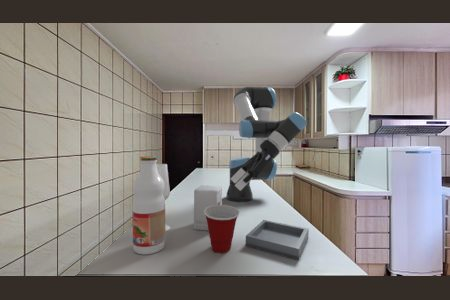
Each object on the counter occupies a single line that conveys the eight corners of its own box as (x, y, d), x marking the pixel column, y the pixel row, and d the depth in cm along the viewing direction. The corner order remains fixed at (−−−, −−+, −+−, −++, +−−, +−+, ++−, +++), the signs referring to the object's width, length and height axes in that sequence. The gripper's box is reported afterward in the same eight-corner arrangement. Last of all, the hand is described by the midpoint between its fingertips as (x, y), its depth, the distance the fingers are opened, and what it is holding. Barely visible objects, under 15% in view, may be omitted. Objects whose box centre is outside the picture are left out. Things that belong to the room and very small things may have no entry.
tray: (263, 228, 81) (263, 219, 80) (308, 237, 72) (308, 228, 72) (245, 245, 67) (245, 235, 67) (298, 260, 59) (298, 249, 59)
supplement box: (216, 232, 77) (217, 190, 76) (193, 229, 79) (193, 189, 78) (222, 222, 86) (222, 185, 85) (200, 220, 88) (201, 184, 87)
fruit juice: (166, 252, 63) (165, 157, 62) (131, 258, 60) (130, 158, 58) (164, 238, 71) (164, 155, 70) (134, 242, 68) (133, 155, 67)
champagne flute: (161, 223, 85) (161, 163, 84) (173, 227, 81) (173, 164, 80) (147, 229, 79) (146, 164, 78) (160, 233, 75) (159, 166, 74)
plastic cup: (210, 261, 58) (210, 218, 57) (199, 244, 68) (199, 206, 67) (245, 253, 62) (246, 213, 62) (230, 238, 72) (230, 203, 72)
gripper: (292, 154, 71) (247, 199, 70) (270, 151, 96) (237, 184, 95) (277, 138, 70) (231, 183, 69) (258, 139, 95) (225, 173, 94)
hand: (234, 184), depth 82 cm, fingers open, 13 cm apart
